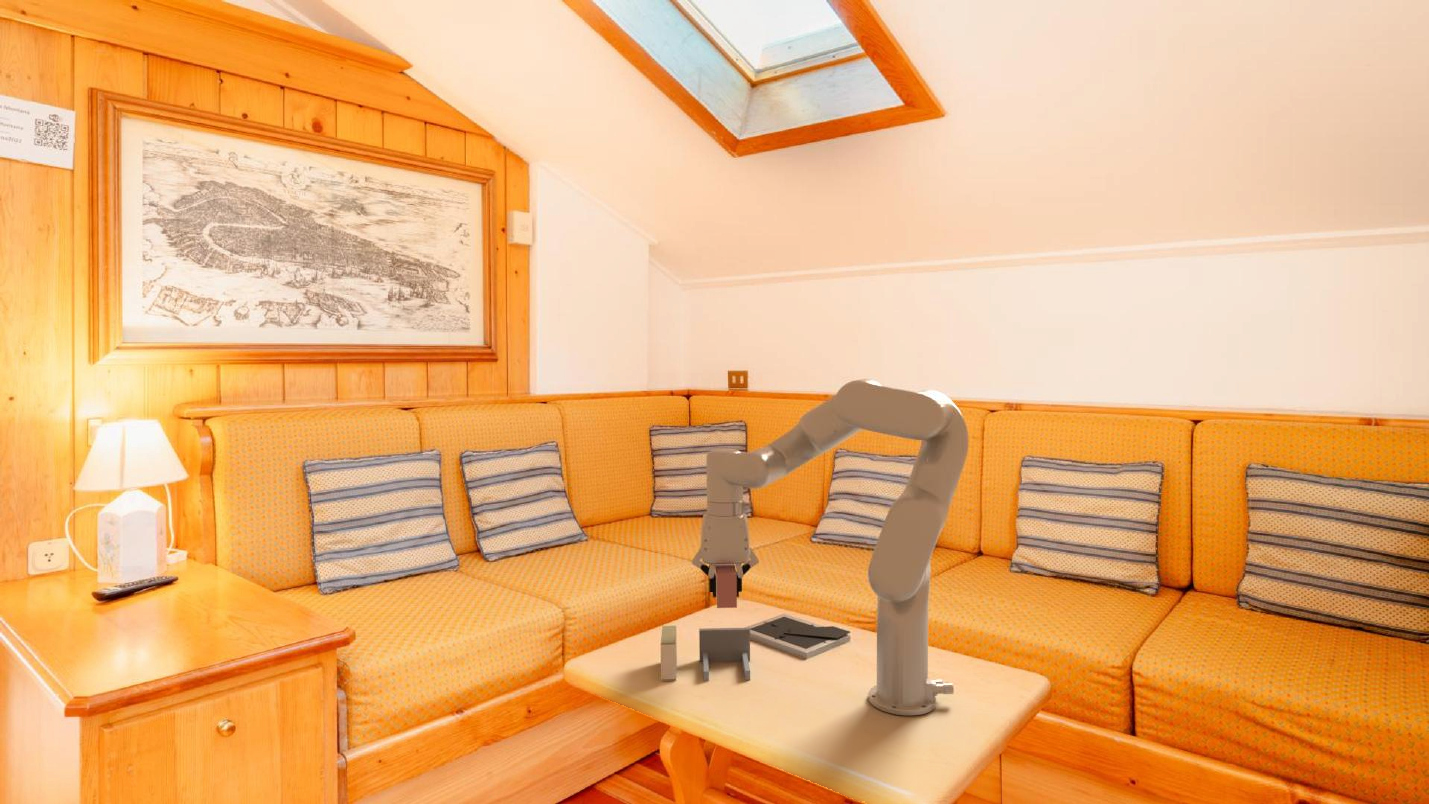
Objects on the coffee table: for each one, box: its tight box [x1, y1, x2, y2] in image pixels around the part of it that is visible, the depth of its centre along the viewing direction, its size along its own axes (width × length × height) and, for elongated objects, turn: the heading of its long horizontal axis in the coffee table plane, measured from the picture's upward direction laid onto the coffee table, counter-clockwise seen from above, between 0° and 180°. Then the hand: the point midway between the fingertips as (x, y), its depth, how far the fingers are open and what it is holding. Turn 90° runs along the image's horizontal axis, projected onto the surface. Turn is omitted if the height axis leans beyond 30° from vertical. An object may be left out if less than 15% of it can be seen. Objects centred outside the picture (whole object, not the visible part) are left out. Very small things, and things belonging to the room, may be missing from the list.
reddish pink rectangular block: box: [715, 564, 738, 609], centre depth 163 cm, size 4×10×7 cm, turn 2°
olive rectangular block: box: [660, 625, 678, 682], centre depth 165 cm, size 3×10×8 cm, turn 2°
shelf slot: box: [698, 627, 751, 682], centre depth 165 cm, size 11×11×7 cm
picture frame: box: [744, 613, 851, 660], centre depth 184 cm, size 16×3×21 cm
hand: (725, 594), depth 163 cm, fingers closed on reddish pink rectangular block, 4 cm apart
